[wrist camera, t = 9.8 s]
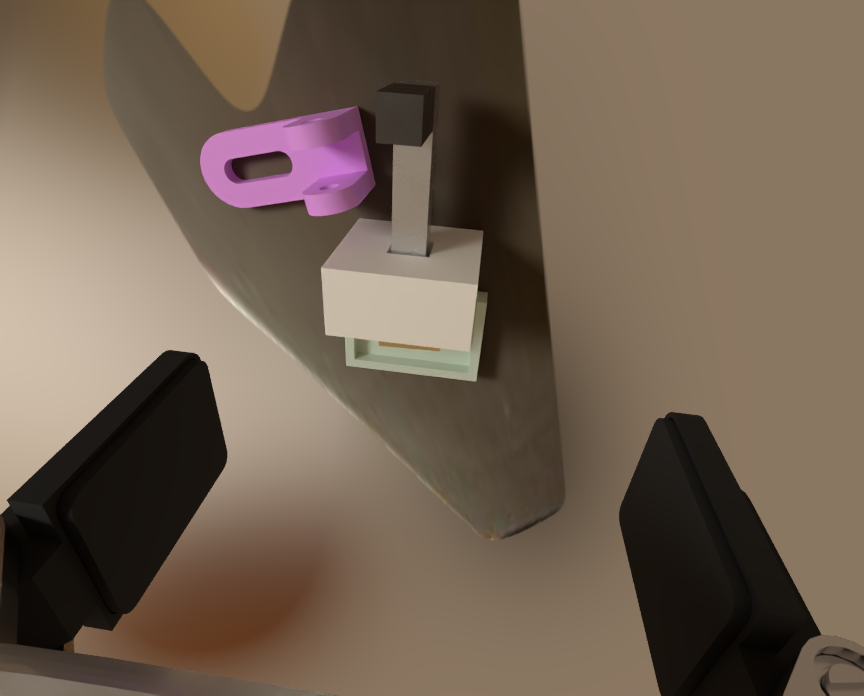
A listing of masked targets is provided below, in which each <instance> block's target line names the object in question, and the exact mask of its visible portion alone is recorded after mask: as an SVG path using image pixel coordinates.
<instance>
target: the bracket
mask: <svg viewBox="0 0 864 696" xmlns="http://www.w3.org/2000/svg"><path fill="white" fill-rule="evenodd" d="M274 151H282V152H284V153H286V154H287V155H288V156H289V157H290V159H291V161H292V164H293V169H292V172H291V173H286V174H280V175H274V176H268V177H262V178H256V179H250V180H243V179H240V178H239V177H237V176H236V175H235V173H234V172H233V169H232V161H233V159H234V158H240V157H245V156H251V155H257V154H263V153H269V152H274ZM200 164H201V171H202V174H203V177H204V179H205V181H206V183H207V185H208V186H209V188H210V189H211V190H212V192H213V193H214V194H215V195H216V196H217V197H219V198H220V199H221V200H223V201H224V202H226V203H227V204H230V205H232V206H235V207H240V208H250V207H256V206H263V205H270V204H276V203H283V202H290V201H296V200H303V199H304V200H305V204H306V207H307V210H308V213H309V215H312V216H325V215H332V214H336V213H340V212H344V211H347V210H349V209H352V208H354V207H356V206H358V205H359V204H360V203H361V202H362V201H363V199H364V198H365V197H366V196H367V195H368V193H369V192H370V191H371V190H372V189H373V188H374V186H375V185H376V183H375V179H374V175H373V170H372V166H371V161H370V157H369V153H368V148H367V144H366V139H365V135H364V131H363V126H362V122H361V118H360V113H359V109H358V106H356V107H350V108H345V109H339V110H334V111H329V112H323V113H318V114H312V115H307V116H302V117H296V118H291V119H286V120H280V121H275V122H269V123H264V124H259V125H253V126H248V127H242V128H237V129H232V130H227V131H224V132H221V133H218V134H216V135H214V136H212V137H211V138H210V139H208V141H207V142H206V143H205V144H204V146H203V149H202V152H201V157H200Z"/></svg>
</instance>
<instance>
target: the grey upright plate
mask: <svg viewBox="0 0 864 696" xmlns="http://www.w3.org/2000/svg"><path fill="white" fill-rule="evenodd" d="M439 89H440V82H428V81H416V80H403V79H401V80H399V81H397V82H395V83H393V84H390V85H388V86H386V87H384V88H382V89H380V90H378V91H376V143H382V144H393V189H392V244H391V254H400V255H410V256H419V257H428V258H429V249H430V233H431V217H432V201H433V185H434V169H435V153H436V137H437V121H438V105H439Z"/></svg>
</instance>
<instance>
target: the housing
mask: <svg viewBox="0 0 864 696" xmlns="http://www.w3.org/2000/svg"><path fill="white" fill-rule="evenodd" d="M482 240H483V231H480V230H471V229H461V228H451V227H441V226H431V233H430V249H429V258H428V257H419V256H410V255H400V254H391V244H392V221H382V220H372V219H363V218H359V219H358V221H357V222H356V223H355V225H354V226H353V227H352V229H351V230H350V231H349V232H348V234H347V235H346V236H345V238H344V239H343V240H342V242H341V243H340V244H339V245H338V247H337V248H336V249H335V251H334V252H333V253H332V254H331V256H330V257H329V258H328V260H327V261H326V262H325V264H324V265H323V266H322V267H321V274H322V289H323V304H324V319H325V334H326V335H331V336H340V337H348V338H357V339H365V340H374V341H382V342H390V343H399V344H407V345H416V346H424V347H433V348H441V349H449V350H458V351H466V352H470V345H471V337H472V329H473V321H474V313H475V305H476V297H477V289H478V280H479V270H480V260H481V250H482Z"/></svg>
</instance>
